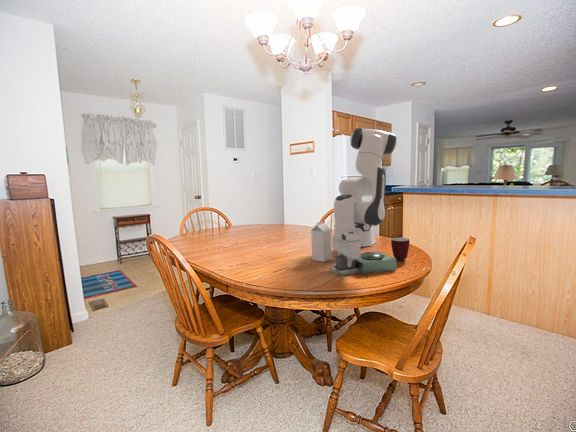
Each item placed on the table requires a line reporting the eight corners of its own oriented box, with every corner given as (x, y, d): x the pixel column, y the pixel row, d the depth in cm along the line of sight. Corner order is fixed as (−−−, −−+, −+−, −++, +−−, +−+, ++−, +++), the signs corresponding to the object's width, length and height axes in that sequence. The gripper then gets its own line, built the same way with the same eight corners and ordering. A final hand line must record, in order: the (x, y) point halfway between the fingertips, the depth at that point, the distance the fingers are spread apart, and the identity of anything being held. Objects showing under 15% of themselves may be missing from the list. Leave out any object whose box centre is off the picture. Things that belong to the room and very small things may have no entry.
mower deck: (327, 268, 137) (327, 255, 136) (378, 261, 143) (378, 249, 143) (340, 278, 123) (340, 264, 123) (396, 269, 130) (396, 256, 129)
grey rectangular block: (335, 267, 133) (335, 256, 132) (350, 265, 135) (349, 254, 134) (340, 270, 128) (340, 259, 127) (355, 268, 130) (355, 257, 129)
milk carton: (331, 258, 151) (330, 221, 149) (324, 262, 146) (323, 223, 143) (319, 256, 156) (318, 220, 153) (312, 260, 150) (310, 222, 148)
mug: (411, 264, 137) (411, 242, 136) (392, 263, 139) (392, 242, 138) (407, 257, 147) (408, 237, 146) (390, 257, 149) (390, 237, 148)
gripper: (328, 229, 138) (329, 258, 140) (348, 238, 119) (349, 272, 121) (340, 228, 140) (341, 257, 142) (363, 236, 120) (363, 270, 122)
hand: (345, 264), depth 131 cm, fingers closed on grey rectangular block, 5 cm apart
